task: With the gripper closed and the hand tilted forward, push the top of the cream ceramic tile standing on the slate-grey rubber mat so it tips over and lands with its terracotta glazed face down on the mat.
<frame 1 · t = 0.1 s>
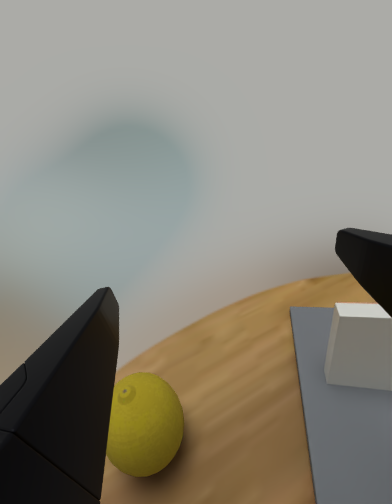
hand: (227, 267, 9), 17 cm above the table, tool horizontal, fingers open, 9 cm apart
lemon: (159, 446, 19), on the table
mat: (378, 406, 18), on the table
tile: (373, 381, 19), point 1 cm above the table, touching mat
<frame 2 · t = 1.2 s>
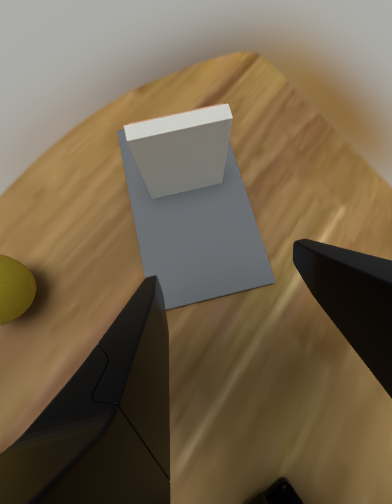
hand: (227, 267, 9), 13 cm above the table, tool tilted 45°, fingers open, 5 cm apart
lemon: (26, 294, 22), on the table
mat: (189, 203, 24), on the table
tile: (185, 185, 23), point 1 cm above the table, touching mat
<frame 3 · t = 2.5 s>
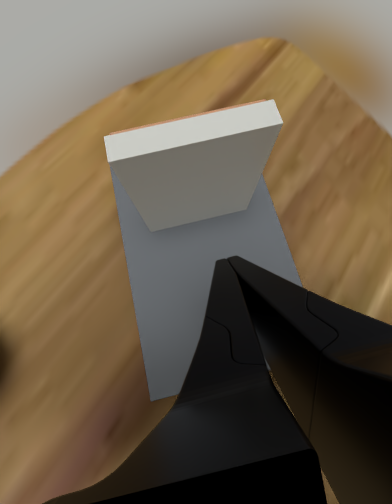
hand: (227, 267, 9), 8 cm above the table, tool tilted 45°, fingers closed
mat: (201, 236, 18), on the table
tile: (197, 213, 17), point 1 cm above the table, touching mat
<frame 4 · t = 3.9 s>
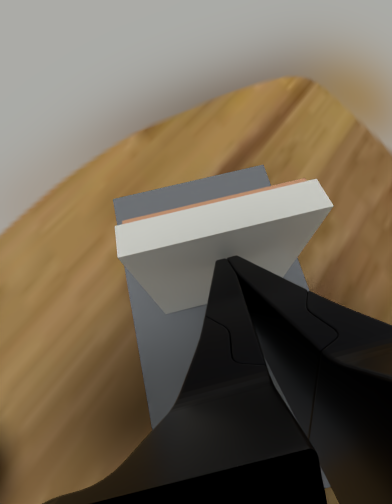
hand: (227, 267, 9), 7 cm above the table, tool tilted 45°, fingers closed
mat: (223, 315, 15), on the table
tile: (219, 290, 15), point 1 cm above the table, tilted 12°, touching mat
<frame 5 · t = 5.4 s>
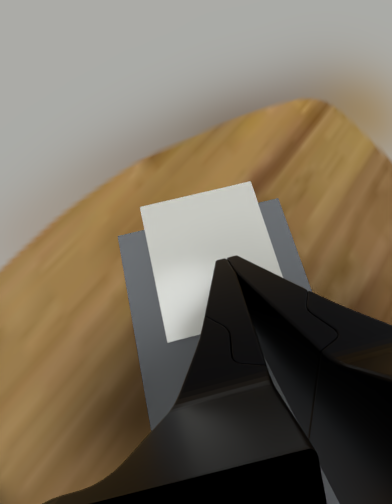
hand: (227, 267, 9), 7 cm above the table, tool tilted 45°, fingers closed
mat: (237, 364, 14), on the table
tile: (230, 325, 13), point 2 cm above the table, tilted 90°, touching mat
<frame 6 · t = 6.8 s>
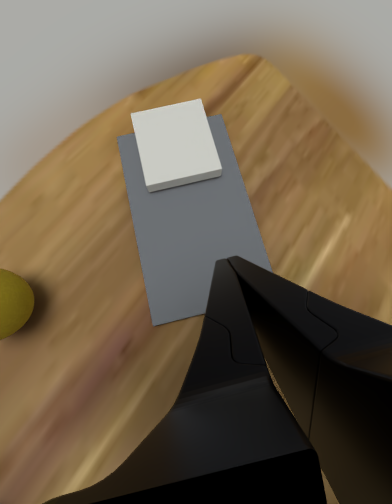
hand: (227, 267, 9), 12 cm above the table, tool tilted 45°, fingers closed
lemon: (24, 306, 21), on the table
mat: (191, 211, 23), on the table
tile: (184, 180, 22), point 2 cm above the table, tilted 90°, touching mat
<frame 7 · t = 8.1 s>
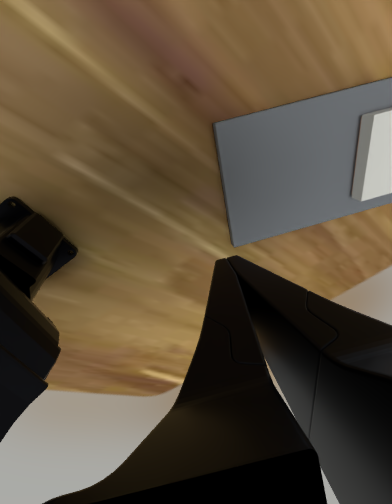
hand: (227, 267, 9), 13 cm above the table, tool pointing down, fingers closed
mat: (322, 164, 22), on the table
tile: (361, 160, 21), point 2 cm above the table, tilted 90°, touching mat
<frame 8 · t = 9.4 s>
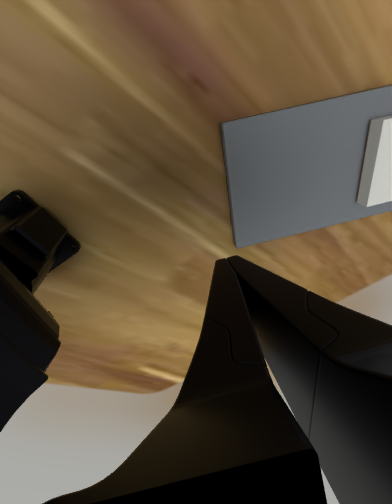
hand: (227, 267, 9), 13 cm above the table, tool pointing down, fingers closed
mat: (329, 168, 22), on the table
tile: (368, 166, 20), point 2 cm above the table, tilted 90°, touching mat
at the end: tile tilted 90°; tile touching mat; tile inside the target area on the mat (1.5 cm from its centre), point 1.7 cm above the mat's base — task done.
